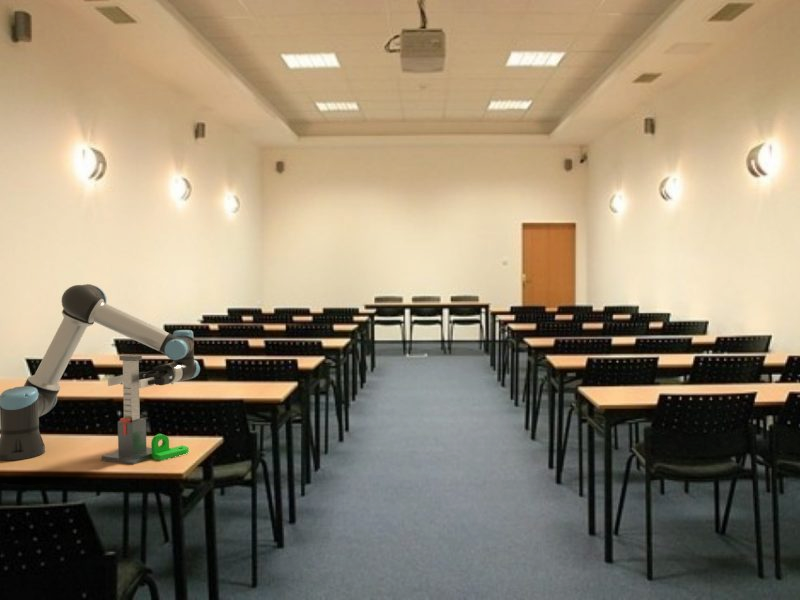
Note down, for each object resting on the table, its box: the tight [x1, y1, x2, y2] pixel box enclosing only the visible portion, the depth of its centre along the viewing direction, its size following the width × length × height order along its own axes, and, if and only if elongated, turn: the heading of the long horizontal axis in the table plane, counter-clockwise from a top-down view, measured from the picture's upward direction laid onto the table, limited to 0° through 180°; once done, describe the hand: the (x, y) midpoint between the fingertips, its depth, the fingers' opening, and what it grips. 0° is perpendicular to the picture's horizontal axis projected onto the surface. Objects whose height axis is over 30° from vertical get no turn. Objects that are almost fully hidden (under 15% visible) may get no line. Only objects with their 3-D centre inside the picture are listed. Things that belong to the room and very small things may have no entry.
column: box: [118, 354, 143, 422], centre depth 219 cm, size 7×4×28 cm, turn 70°
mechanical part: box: [150, 433, 190, 462], centre depth 222 cm, size 12×6×8 cm, turn 140°
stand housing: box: [100, 417, 153, 465], centre depth 220 cm, size 14×14×14 cm
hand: (123, 383), depth 216 cm, fingers open, 13 cm apart
